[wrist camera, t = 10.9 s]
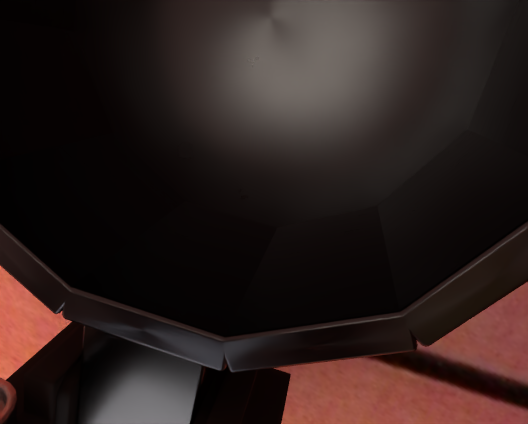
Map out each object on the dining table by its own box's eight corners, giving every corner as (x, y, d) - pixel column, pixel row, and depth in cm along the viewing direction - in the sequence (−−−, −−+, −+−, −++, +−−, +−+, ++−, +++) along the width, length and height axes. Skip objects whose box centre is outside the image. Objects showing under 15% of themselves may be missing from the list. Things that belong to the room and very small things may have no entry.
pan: (83, -324, 8) (-332, -946, 3) (648, -244, 6) (1396, -1050, 2) (48, 433, 15) (-94, 600, 10) (317, 534, 13) (300, 777, 9)
